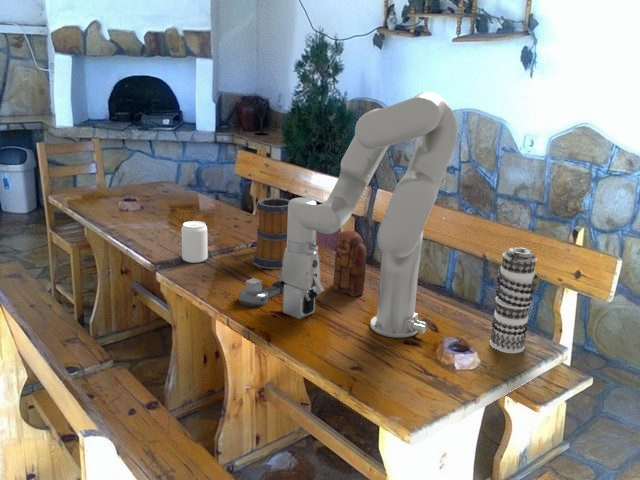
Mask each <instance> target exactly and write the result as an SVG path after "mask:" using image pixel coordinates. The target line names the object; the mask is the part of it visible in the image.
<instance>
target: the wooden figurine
mask: <svg viewBox="0 0 640 480" xmlns="http://www.w3.org/2000/svg"><path fill="white" fill-rule="evenodd" d="M336 241H337V243H336V248H337V249H336V252H335V255H334V256H335V257H334V270H333V271H334V272H333V282H332V283H333V284H332V285H333V289H334V290H335V291H336V292H340V293H342V294H344V295H350V296H352V297H358V296H360V295H363V294H364V288H365V283H366V282H365V279H366V266H367V265H366V263H367V248H366V246H365V244H364V239H363V238H362V236H361V235H360V234H359V233H358V232H357V231H354V230H350V229H347V230H344V231H341V232H340V233H339V235H338V239H337V240H336Z"/></svg>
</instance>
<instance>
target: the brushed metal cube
mask: <svg viewBox="0 0 640 480" xmlns="http://www.w3.org/2000/svg"><path fill="white" fill-rule="evenodd" d="M314 289H315V291H316V288H315V286H314ZM310 291H311V290H309V293H310V294H311V292H310ZM305 300H306V296H305V290H304V289H301V288H298V287H295V286H292V285H289V284H285V285H284V292H283V305H282V307H283V308H282V309H283V310H282V312H283V314H286V315H289V316H291V317H294V318H296V319H299V320H301V319H303V318H306V317H308V316H310V315H312V314H314V313H315V309H316V298H314V309H313V311H312V312H310V313H308V314H304V302H305Z"/></svg>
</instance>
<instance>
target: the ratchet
mask: <svg viewBox="0 0 640 480" xmlns="http://www.w3.org/2000/svg"><path fill="white" fill-rule="evenodd" d="M283 289H284V288H283V287H282V285H281V282H280V281H279V280H278V281H276V282H273V283H272V285H270V286H268V287H265V288H263V280H261V279H257V278H255V277H253V278H250V279H248V280H245V288H243V289H242V290H239V293H238V298H239V299H238V302H239V304H241V306H244V307H249V308H260V307H262V306H265V305H267V304H268V302H269V299H271V298H272V297H275V296H276V295H279V294H282V293H283V294H284V291H283Z"/></svg>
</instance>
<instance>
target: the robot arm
mask: <svg viewBox="0 0 640 480" xmlns="http://www.w3.org/2000/svg"><path fill="white" fill-rule="evenodd" d="M355 124H356V125H355V128H354V136H353V138H352V140H351V142H350V144H349V146H348V148H347V150H346V152H345V153H344V155H343V157H342V159H341V161H340V174H339V176H338V178H337V181H336V183H335V185H334V187H333V188H332V191H331V192H330V194H329V196H328V198H327V199H326V200H325V201H324V202H322V203H320V204H317V201H316V200H314V199H312V198H310V197H295V198H291V199H290V201H289V203H288V224H287V248H286V249H285V252H284V257H283V264H282V269H281V271H280V272H279V273H278V274H277V275H276V277H277V279H278V281H280V282H281V285H282V287H283V288H284V285H285V284H289V285H292V286H295V287H298V288H301V289H304V290H305V296H306V300H305V302H304V314H308V313H310V312H312V311H313V309H314V298H315V299H317V297H318V296H320V294H322V293H323V292H324V291H325V289H324V287H323V285H322V283H321V265H320V264H321V263H320V255H319V252H318V250H319V246H318V245H317V244H316V243H317V233H321V234H326V235H331V234H335V233H337V232H338V231H339V230H340V229H341V228H342V227H343V226H344V225H345V223H346V222H347V221H349V219H350V217H351V216H352V214H353V213H354V210H355V209H356V206H357V205H358V203H359V202H360V199H361V198H362V196H363V194H364V192H365V190H366V188H367V187H368V185H369V184H370V182H371V180H372V178H373V176H374V174H375V172H376V170H377V169H378V168H379V167H378V166H379V165H380V163H381V161H382V160H383V158H384V157H385V154H386V152H387V151H388V149H389V147H390V146H393V145H397V144H399V143H401V142H405V141H409V140H412V139H415V138H417V137H419V140H418V141H417V145H416V146H415V147H416V148H415V149H414V152H413V156H412V158H411V160H410V163H409V165H408V168H407V169H406V172H405V174H404V175H403V177H402V178H401V179H400V181H398V183H397V185H396V186H395V188H394V190H393V192H392V195H391V197H390V199H389V202H388V205H387V207H386V210H385V213H384V215H383V218H382V220H381V223H380V226H379V228H378V231H377V234H376V241H377V245H378V248H379V250H380V251H381V259H380V260H381V261H380V271H379V273H380V274H379V283H378V284H379V286H378V287H379V288H378V297H377V311H376V315H375V316H373V317H372V318H371V319H370V322H369V324H370V325H369V326H370V329H371V330H373V332H375V333H376V334H378V335H382V336H385V337H389V338H393V339H394V338H395V339H396V338H398V339H400V338H409V337H413V336H415V335H417V334H418V333H421V334H424V333H425V332H426V331H427V322H425V321H422V320H420V319H418V318H419V313H417V312H415V309H416V302H417V301H416V299H417V291H418V290H417V289H418V288H417V287H418V278H419V271H420V260H421V253H422V252H421V251H422V245H423V238H424V229H425V225H426V224H427V221H428V219H429V216H430V213H431V212H432V210H433V207H434V205H435V202H436V201H437V199H438V195H439V189H440V188H441V184H442V181H443V180H444V179H443V178H444V176H445V174H446V172H447V169H448V166H449V164H450V161H451V158H452V156H453V153H454V151H455V148H456V143H457V137H458V126H457V119H456V115H455V114H454V111H453V109H452V108H451V107H450V105H449V104H448V102H447V101H446V100H445V99H444V98H443V97H442V96H441V95H440V94H438V93H435V92H431V91H426V92H421V93H418V94H417V95H415V96H413V97H411V98H408V99H405V100H403V101H400V102H397V103H395V104H392V105H389V106H386V107H383V108H374V109H372V110H370V111H367V112H365V113H363V115H361V116H360V117H359V119H358V120H357V122H356V123H355ZM314 286H315V288H316V291H315V289H314ZM309 290H311V291H310V292H311V294H310V293H309ZM283 291H284V289H283Z"/></svg>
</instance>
